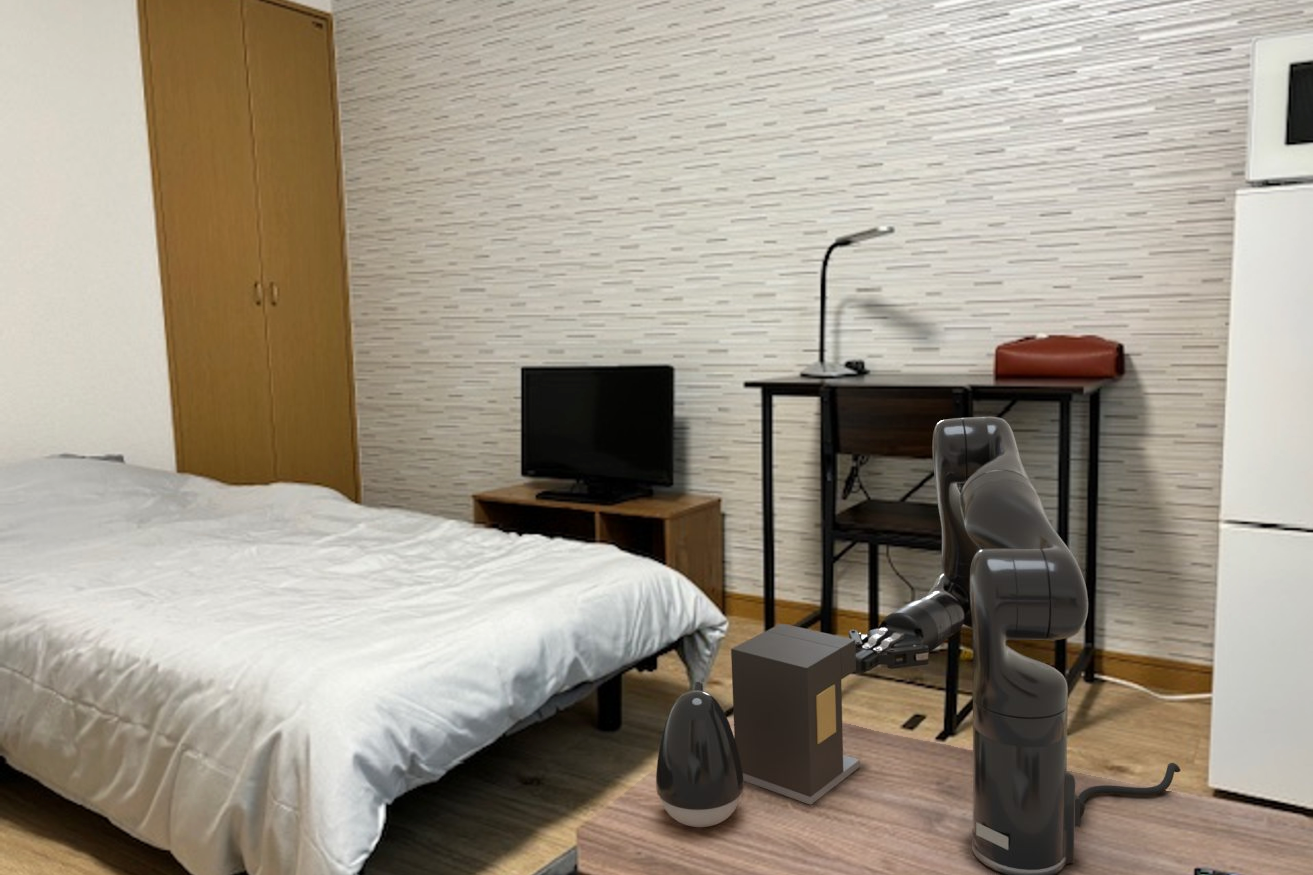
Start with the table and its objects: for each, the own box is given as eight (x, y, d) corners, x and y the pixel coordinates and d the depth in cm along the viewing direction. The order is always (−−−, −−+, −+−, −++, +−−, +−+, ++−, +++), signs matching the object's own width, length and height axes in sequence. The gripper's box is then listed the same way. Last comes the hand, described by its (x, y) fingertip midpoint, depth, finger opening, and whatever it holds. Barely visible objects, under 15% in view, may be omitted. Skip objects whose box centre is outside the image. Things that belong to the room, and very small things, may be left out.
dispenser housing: (787, 743, 132) (783, 621, 130) (861, 767, 125) (858, 638, 123) (735, 777, 124) (730, 648, 121) (812, 805, 117) (808, 668, 114)
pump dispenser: (745, 792, 120) (740, 673, 118) (744, 839, 110) (739, 710, 108) (661, 791, 121) (656, 674, 119) (653, 838, 111) (646, 711, 109)
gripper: (875, 597, 150) (813, 630, 138) (958, 613, 142) (900, 649, 129) (876, 644, 152) (815, 681, 139) (958, 662, 143) (901, 703, 130)
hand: (856, 665), depth 134 cm, fingers closed
